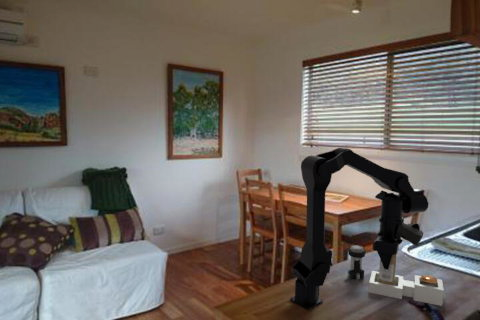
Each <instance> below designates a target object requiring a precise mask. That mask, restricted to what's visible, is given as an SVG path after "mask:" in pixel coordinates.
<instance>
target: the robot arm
mask: <svg viewBox="0 0 480 320" xmlns="http://www.w3.org/2000/svg"><path fill="white" fill-rule="evenodd" d="M345 166H347V167H350V168H351V169H353V170H354V171H357V172H359V173H361V174H364V175H366V176H367V177H369V178H371V179H372V180H373V181H374V183H376V184H377V185H378V186H380V187H381V188H382V189H384V190H387V191H391V192H387V191H384V190H381V191H380V192H379V193H377V194H376V195H375V197H374V198H375V199H377V200H381V206H380V216H379V217H378V218H379V219H378V223H379V230H378V232H377V233H378V234H377V236H378V237H377V238H375V239H374V241H373V243H372V250H373V251H375V252H376V253H377V254H378V256H379V260H380V259H381V262H382V264H383V267H384V269H387V270H388V269H389V266H390V262H391V259H392V255H393V254H396V255H398V253H399V250H400V249H399V247H400V246H399V245H400V244H402V243H403V240H405V241H407V242H409V243H411V244H412V245H413V246H419V244H420V242H421V241H422V238H423V237H424V232H423V230H421V225H420V224H419V223H417V222H413V223H411V224H408V223H405V219H404V217H403V214H414V213H415V214H417V213H425V212H426V211H427V210H428V208H429V202H428V198H427V197H426V195H425V194H424V193H425V191H424V189H420V188H413V186H412V185H411V183H410V180H409V176H408V174H406V173H405V172H401V171H397V170H395V169H390V168H386V167H383V166H382V165H379V164H378V163H375V162H373V161H372V160H369V159H368V158H366V157H364V156H363V155H360V154H357V153H356V152H355V151H353V150H352V149H350V148H345V147H337V148H335V149H332V150H329V151H326V152H323V153H322V152H321V153H319V154H316V155H307V156H306V157H305V158H304V159H302V161H301V163H300V169H301V171H300V172H301V177H302V180H303V183H304V186H305V188H306V189H305V190H306V226H305V227H306V228H305V229H306V230H305V233H306V234H305V235H306V236H305V242H304V244H303V245H302V248H301V250H300V251H301V252H300V257H299V259H298V260H297V261H296V262H295V263H294V264H293V265H292V267H291V272H292V274H293V275H294V276H295V277H296V280H295V283H294V284H295V286H294V287H295V288H294V296H292V297H290V299H289V301H292V302H293V303H295V304H297V305H299V306H300V307H303V308H304V309H306V310H310V309H312V308H314V307H317V306H318V305H320V304H322V303H324V300H323V299H322V298H320V287H323V285H324V283H325V280H326V278H327V275H328V274H329V273H330V271H331V267H333V265H334V264H333V262H332V261H333V258H332V257H333V250H332V249H330V248H328V246H327V247H326V244H325V231H326V230H325V226H326V224H325V223H326V222H325V221H326V216H325V215H326V192H327V189H328V188H329V185H330V184H331V181H332V175H333V174H335V173H337V172H339V171H341V170H342V169H343V168H344V167H345Z"/></svg>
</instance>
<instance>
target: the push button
mask: <svg viewBox="0 0 480 320" xmlns="http://www.w3.org/2000/svg"><path fill="white" fill-rule="evenodd" d="M347 251H348V255H349V256H350V267H349V269H347V273H346V274H344V276H345V277H343V278H344V279H349V280H351V281H354V280H360V279H361V280H364V278H365V270H364V269H362V268H363V267H362V263H363V260H362V259H363V258H364V257H366V254H367V251H366V249H364V247H363V246H361V245H356V244H353V245H351V246H350V247H348V249H347Z"/></svg>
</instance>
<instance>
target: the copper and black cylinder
mask: <svg viewBox="0 0 480 320" xmlns="http://www.w3.org/2000/svg"><path fill="white" fill-rule="evenodd" d="M420 276H421V284H423V285H428V286H433V287H436V283H437V279H438V278H436V277H435V276H433V275H427V274H423V275H420Z"/></svg>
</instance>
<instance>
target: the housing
mask: <svg viewBox="0 0 480 320" xmlns="http://www.w3.org/2000/svg"><path fill="white" fill-rule="evenodd" d="M421 276H422V275H417V274H414V279H413V280H414V281H413V280H408V279H407V280H406V279H404V276H403V275H398V274H395V281H394V285H389V284H384V283H379V271H377V270H376V271H375V270H371V274H370V278H369V282H368V283H369V284H368V293H369V294H375V295H379V296H385V297H390V298H395V299H400V300H402V299H403V296H404V297H408V298H411V299H412V298H413V301H414V302H415V301H416V302H421V303H426V304H430V305H434V306H435V305H436V306H440V307H443V303H444V291H445V290H444V284H443V280H442V279H440V278H436V279H437V283H436V287H433V286H428V285H423V284H421Z"/></svg>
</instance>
